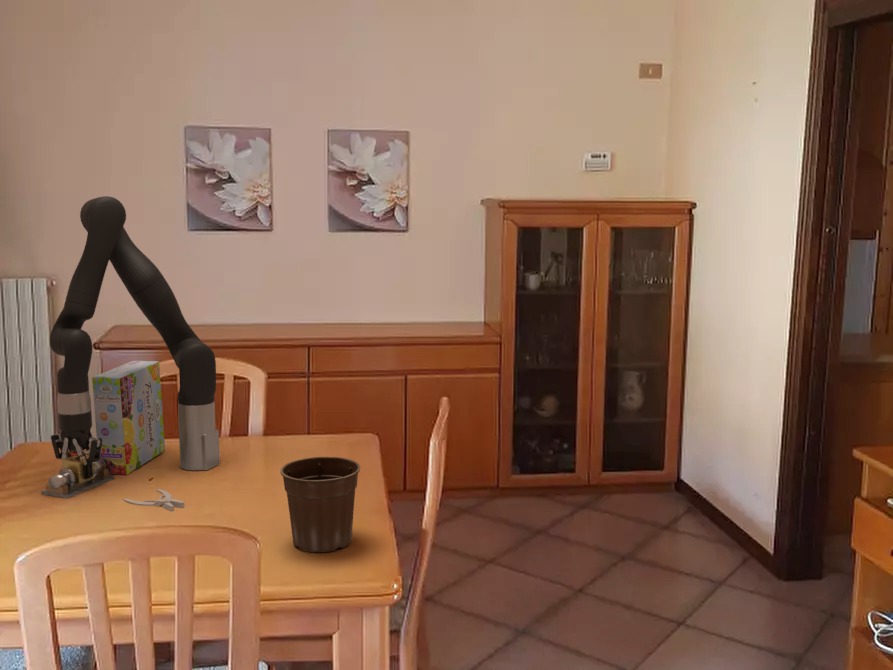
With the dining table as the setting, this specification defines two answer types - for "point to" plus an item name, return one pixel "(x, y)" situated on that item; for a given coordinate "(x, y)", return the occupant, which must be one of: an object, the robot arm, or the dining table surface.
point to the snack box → (129, 415)
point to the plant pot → (321, 501)
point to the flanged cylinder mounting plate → (66, 479)
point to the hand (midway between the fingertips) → (78, 477)
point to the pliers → (160, 501)
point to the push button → (75, 466)
